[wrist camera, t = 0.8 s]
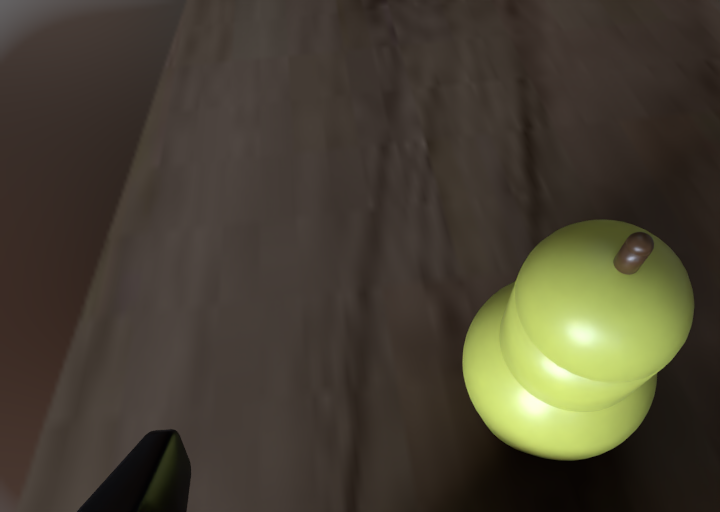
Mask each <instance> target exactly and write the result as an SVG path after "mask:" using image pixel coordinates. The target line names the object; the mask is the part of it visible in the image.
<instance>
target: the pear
mask: <svg viewBox="0 0 720 512" xmlns="http://www.w3.org/2000/svg"><path fill="white" fill-rule="evenodd" d="M693 314H694V296H693V290H692V286H691V283H690V280H689V277H688V274H687V271H686V269H685V268H684V266H683V264H682V262H681V261H680V259H679V258H678V257H677V255H676V254H675V253H674V252H673V251H672V249H671V248H670V247H669V246H667V245H666V244H665V243H664V242H663V241H662V240H660V239H659V238H658V237H656V236H655V235H653V234H651V233H650V232H648V231H646V230H644V229H642V228H640V227H637V226H635V225H633V224H629V223H625V222H621V221H616V220H606V219H601V220H588V221H583V222H579V223H575V224H570V225H568V226H566V227H563V228H561V229H559V230H557V231H555V232H554V233H552V234H551V235H550V236H548V237H547V238H545V239H544V240H543V241H541V242H540V243H539V244H538V245H537V246H536V247H535V248H534V249H533V250H532V251H531V252H530V254H529V256H528V257H527V259H526V260H525V262H524V263H523V265H522V267H521V269H520V271H519V274H518V276H517V279H516V281H515V282H513V283H511V284H509V285H507V286H505V287H504V288H502V289H500V290H499V291H498V292H496V293H495V294H494V295H492V297H491V298H490V299H489V300H488V301H487V302H486V303H485V304H484V305H483V306H482V307H481V308H480V310H479V311H478V312H477V314H476V315H475V317H474V319H473V321H472V323H471V325H470V327H469V330H468V333H467V335H466V338H465V343H464V348H463V375H464V380H465V384H466V388H467V391H468V393H469V396H470V399H471V401H472V403H473V405H474V407H475V409H476V410H477V412H478V413H479V415H480V416H481V418H482V420H483V421H484V423H485V424H486V426H487V427H488V428H489V429H490V430H491V432H492V433H493V434H494V435H495V436H497V437H498V438H499V439H500V440H501V441H503V442H504V443H505V444H507V445H509V446H511V447H512V448H514V449H516V450H519V451H521V452H524V453H528V454H531V455H533V456H537V457H541V458H545V459H552V460H559V461H574V460H581V459H587V458H590V457H594V456H597V455H600V454H603V453H605V452H607V451H609V450H611V449H613V448H615V447H616V446H618V445H619V444H621V443H622V442H624V441H625V440H626V439H627V438H628V437H629V436H630V435H631V434H632V433H633V432H634V431H635V430H636V429H637V428H638V427H639V425H640V424H641V423H642V422H643V420H644V418H645V416H646V414H647V413H648V411H649V409H650V406H651V404H652V401H653V398H654V395H655V390H656V384H657V372H659V371H660V370H661V369H662V368H664V367H665V366H666V365H667V364H668V363H669V362H670V361H671V360H672V359H673V358H674V356H675V355H676V354H677V353H678V351H679V350H680V348H681V347H682V346H683V344H684V343H685V341H686V339H687V336H688V334H689V331H690V329H691V325H692V321H693Z"/></svg>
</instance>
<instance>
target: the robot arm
mask: <svg viewBox="0 0 720 512" xmlns="http://www.w3.org/2000/svg"><path fill="white" fill-rule="evenodd" d="M190 479H191V465H190V461H189V458H188V455H187V453H186V450H185V448H184V445H183V443H182V440H181V438H180V435H179V434H178V432H177V431H176V430H172V429H169V430H155V431H151V432H149V433H148V434H146V435H145V436H144V438H143V439H142V440H141V441H140V442H139V443H138V444H137V445H136V446H135V448H134V449H133V450H132V451H131V452H130V453H129V454H128V455H127V456H126V458H125V459H124V460H123V461H122V462H121V463H120V464H119V465H118V466H117V468H116V469H115V470H114V471H113V472H112V473H111V474H110V475H109V477H108V478H107V479H106V480H105V481H104V482H103V483H102V484H101V485H100V487H99V488H98V489H97V490H96V491H95V492H94V493H93V494H92V495H91V497H90V498H89V499H88V500H87V501H86V502H85V503H84V504H83V505H82V507H81V508H80V509H79V510H78V511H77V512H186V510H187V502H188V494H189V487H190Z"/></svg>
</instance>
